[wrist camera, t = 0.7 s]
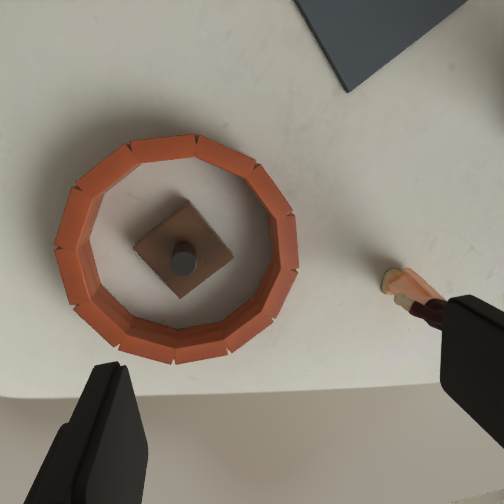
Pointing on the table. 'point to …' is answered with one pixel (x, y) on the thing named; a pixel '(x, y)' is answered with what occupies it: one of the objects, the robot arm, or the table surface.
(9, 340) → the table surface
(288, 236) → the hoop
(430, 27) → the mat
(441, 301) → the grandmother figurine
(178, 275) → the post
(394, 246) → the table surface
